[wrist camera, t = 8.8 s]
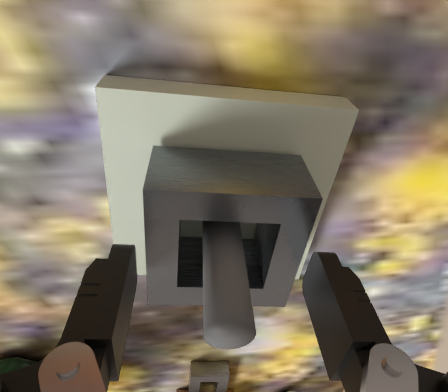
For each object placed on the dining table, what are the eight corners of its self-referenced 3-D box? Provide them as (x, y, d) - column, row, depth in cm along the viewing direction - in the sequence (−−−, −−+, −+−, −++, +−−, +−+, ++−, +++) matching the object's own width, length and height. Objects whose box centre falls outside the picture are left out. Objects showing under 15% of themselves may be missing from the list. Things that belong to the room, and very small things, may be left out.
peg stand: (122, 253, 19) (81, 409, 12) (104, 74, 13) (11, 191, 7) (292, 259, 20) (336, 405, 13) (345, 97, 14) (467, 215, 8)
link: (155, 253, 16) (147, 304, 14) (153, 145, 13) (142, 189, 11) (272, 257, 17) (285, 306, 15) (301, 155, 14) (323, 198, 11)
